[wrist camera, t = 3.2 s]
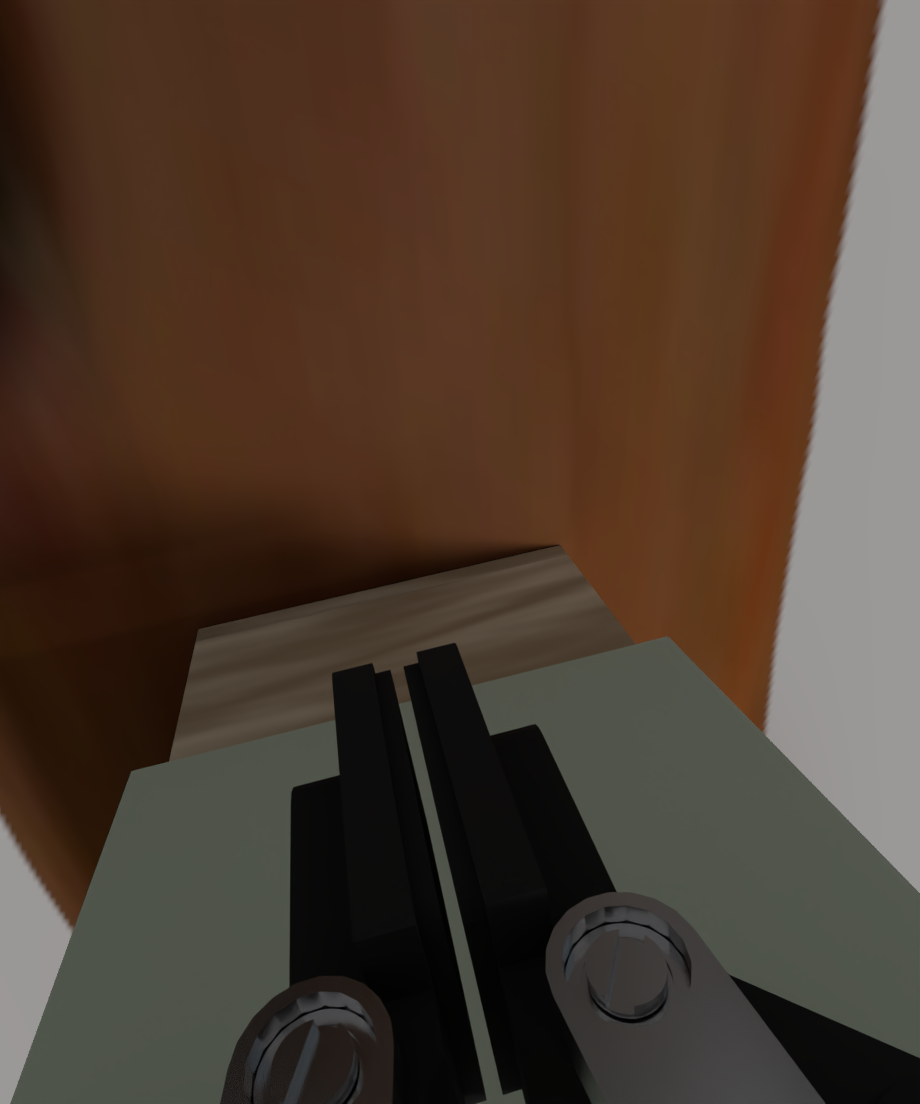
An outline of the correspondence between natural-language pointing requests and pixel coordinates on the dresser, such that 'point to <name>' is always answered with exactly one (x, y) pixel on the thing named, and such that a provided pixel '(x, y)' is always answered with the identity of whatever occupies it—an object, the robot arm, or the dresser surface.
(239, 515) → the dresser surface
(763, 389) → the dresser surface
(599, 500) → the dresser surface
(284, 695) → the box
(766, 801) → the lid
